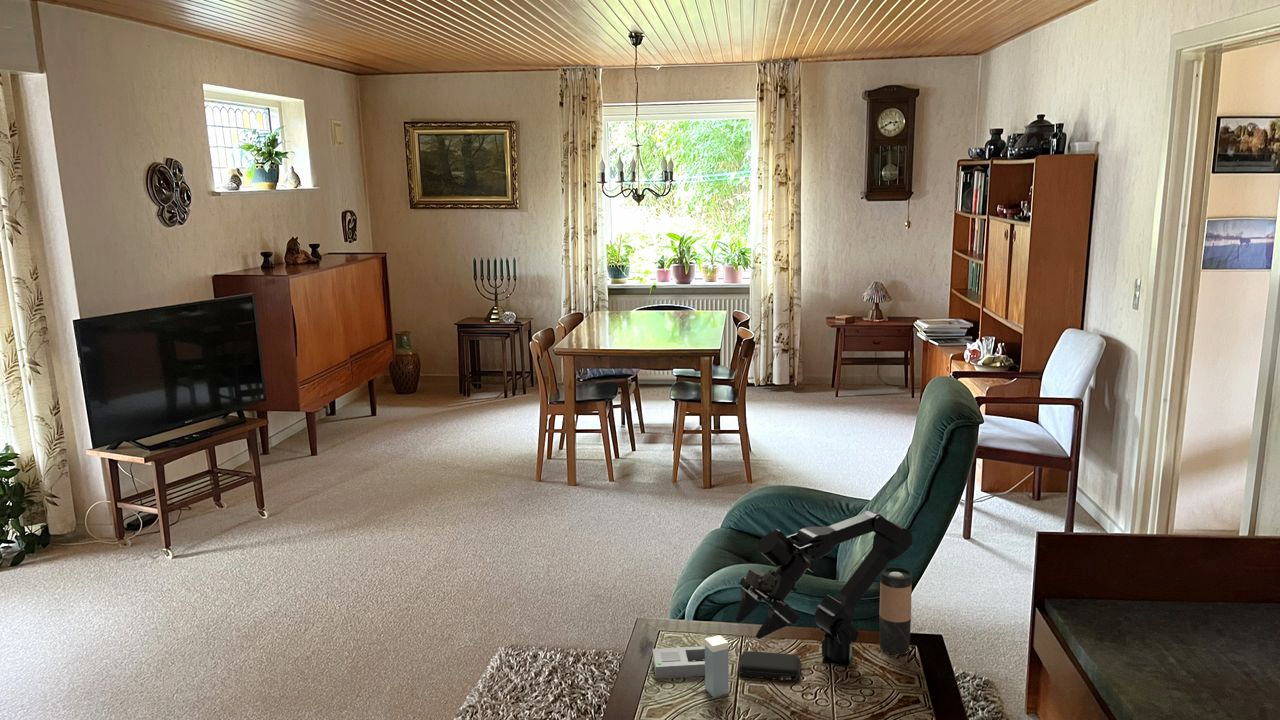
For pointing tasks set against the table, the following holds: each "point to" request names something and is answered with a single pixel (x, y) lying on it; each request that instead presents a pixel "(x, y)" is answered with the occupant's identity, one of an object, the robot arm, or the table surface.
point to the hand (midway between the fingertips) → (746, 629)
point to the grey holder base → (679, 662)
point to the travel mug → (895, 610)
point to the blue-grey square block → (716, 666)
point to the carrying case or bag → (770, 665)
